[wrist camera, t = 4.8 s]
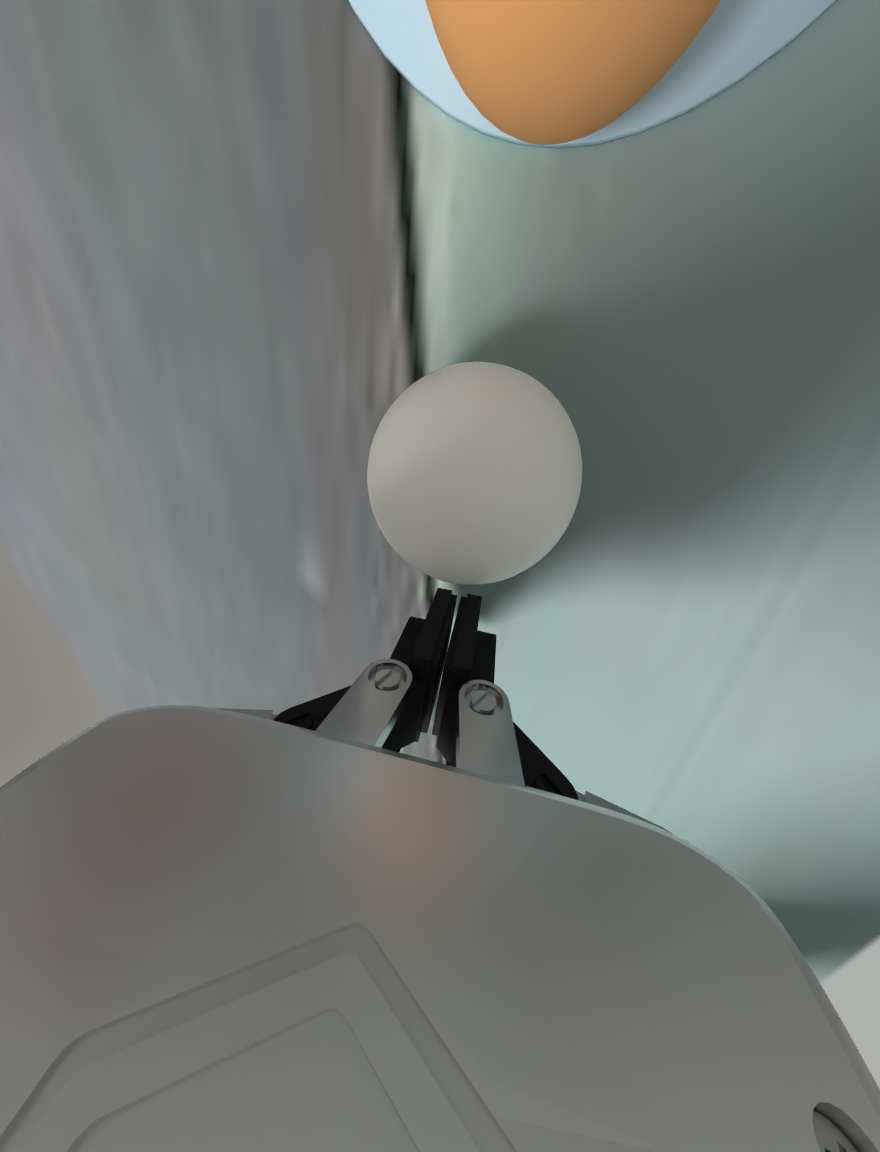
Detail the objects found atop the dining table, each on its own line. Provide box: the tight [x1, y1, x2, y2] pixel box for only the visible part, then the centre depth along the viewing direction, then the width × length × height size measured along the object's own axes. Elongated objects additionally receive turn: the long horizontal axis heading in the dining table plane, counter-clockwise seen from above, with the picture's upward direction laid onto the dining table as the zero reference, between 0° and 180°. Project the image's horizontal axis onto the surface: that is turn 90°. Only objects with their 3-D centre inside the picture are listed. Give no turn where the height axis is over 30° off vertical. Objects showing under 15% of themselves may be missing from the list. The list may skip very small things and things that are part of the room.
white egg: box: [367, 361, 582, 585], centre depth 9 cm, size 6×6×6 cm
